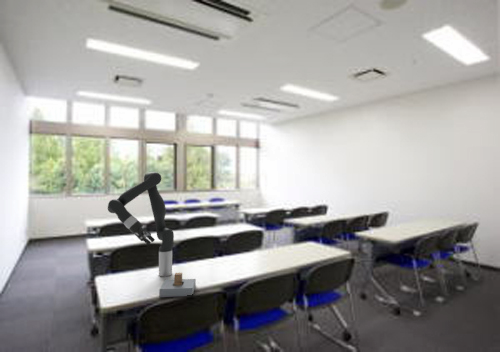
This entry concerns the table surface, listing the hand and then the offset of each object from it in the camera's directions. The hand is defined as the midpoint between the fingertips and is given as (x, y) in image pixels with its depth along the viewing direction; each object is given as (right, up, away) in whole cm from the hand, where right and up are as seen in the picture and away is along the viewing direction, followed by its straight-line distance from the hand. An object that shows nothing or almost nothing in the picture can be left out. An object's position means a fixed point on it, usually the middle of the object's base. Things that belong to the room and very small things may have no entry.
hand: (151, 242), depth 169 cm
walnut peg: (+18, -27, -5) cm, 33 cm away
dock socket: (+18, -28, -5) cm, 34 cm away
